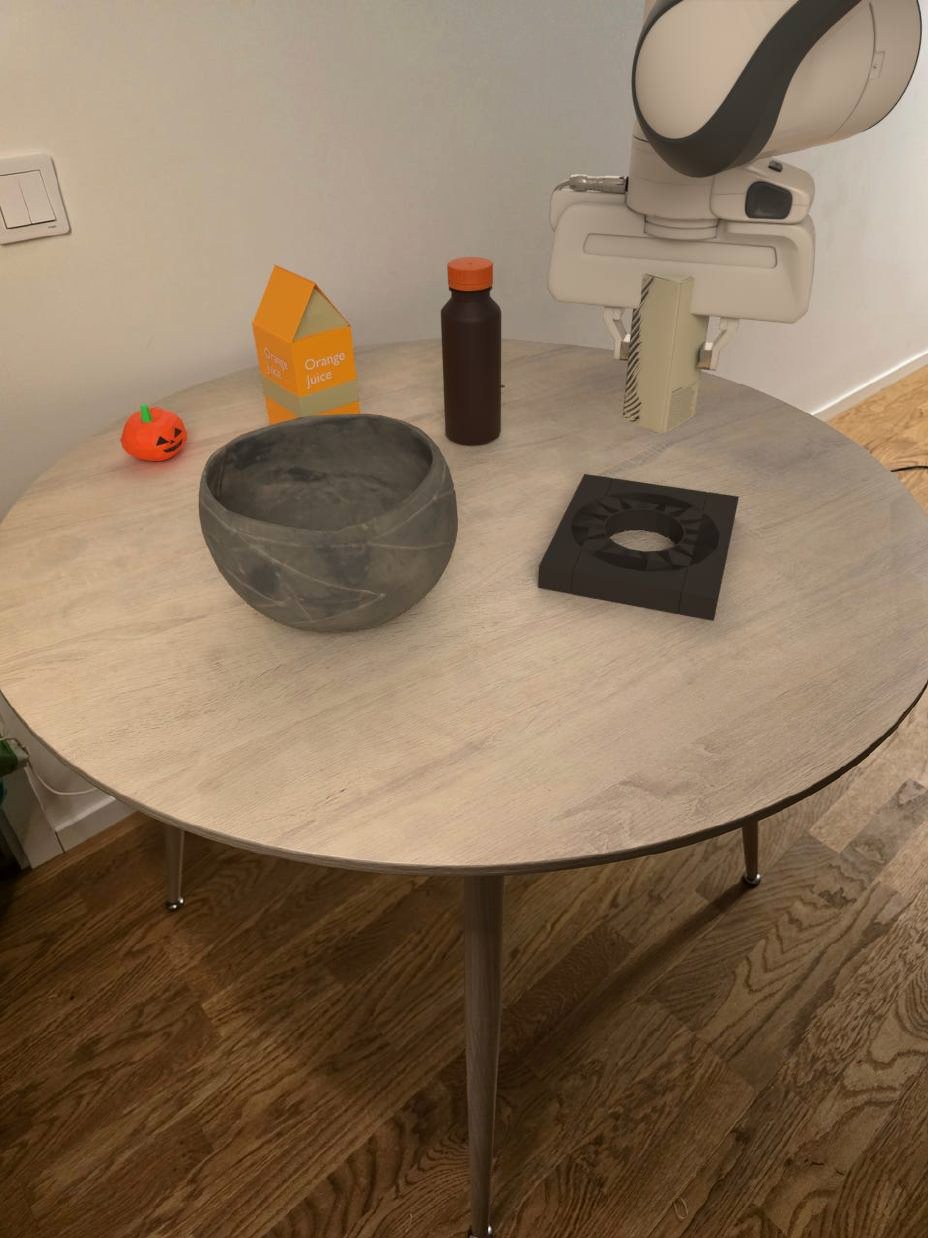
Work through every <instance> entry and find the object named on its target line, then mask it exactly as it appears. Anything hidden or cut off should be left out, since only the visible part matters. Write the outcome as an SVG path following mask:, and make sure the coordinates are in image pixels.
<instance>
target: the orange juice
mask: <svg viewBox="0 0 928 1238" xmlns="http://www.w3.org/2000/svg"><path fill="white" fill-rule="evenodd" d="M273 265H274V266H273V269H272V271H271V274H270V276H269V279H268V281H267V284H266V287H265V288H264V292H263V294H262V297H261V300H260V302H259V305H258V307H257V310H256V312H255V316H254V317H253V321H251V327H252V332H253V333H252V334H253V338H254V344H255V350H256V354H257V355H256V356H257V362H258V366H259V367H258V368H259V372H260V373H259V374H260V375H259V376H260V380H261V385H262V386H261V387H262V392H263V396H264V401H265V406H266V407H265V408H266V412H267V418H268V422H269V423H268V424H269V426H270V425H273V424H276V423H279V422H283V421H288V420H292V419H295V418H299V417H305V416H315V415H338V414H361V410H360V409H361V408H360V402H359V401H360V394H359V386H358V385H359V384H358V379H357V372H356V362H355V353H354V343H353V334H352V325H351V324H350V323H349V322H348V320H346V318H345V317H344V316H343V314H342V313H341V312H340V311H339V310H338V308H337V307H336V306H335V305H334V304H333V303H332V302H331V300H330V299H329V298H328V297H327V295H326V294H325V293H324V291H322V289H321V288H320V287H319V286H318V284H317V283H316V282H315V281H313V280H310V279H308V278H306V277H304V276H301V275H299V274H297V273H295V272H293V271H290V270H288V269H286V268H284V267H281V266H279V265H276V264H273Z"/></svg>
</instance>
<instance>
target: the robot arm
mask: <svg viewBox="0 0 928 1238" xmlns="http://www.w3.org/2000/svg"><path fill="white" fill-rule="evenodd" d="M920 6H921V5H920V3H919V0H644V6H643V15H642V24H641V31H640V34H639V37H638V40H637V43H636V47H635V50H634V55H633V59H632V66H631V78H630V79H631V80H630V81H631V98H632V105H633V109H634V113H635V116H636V118H635V120H634V123H633V127H632V136H631V145H630V156H629V168H628V175H627V176H626V175H598V176H593V175H588V174H584V173H583V174H582V173H577V174H571V175H570V176H569V179H565V180H563V181H561V182H559V183H558V184H557V185H556V186H555V187H554V189H553V191H552V193H551V195H550V197H549V198H550V199H549V217H548V218H549V224H550V227H551V229H552V231H553V232H554V235H553V239H552V243H551V244H552V245H551V250H550V255H549V261H548V268H547V277H546V278H547V279H546V288H547V291H548V293H549V294H550V296H551V297H552V299H553V300H554V301H555V302H557V303H565V304H567V303H568V304H578V305H587V306H588V305H589V306H596V307H597V306H598V307H603V317H602V319H603V322H604V323H605V326H606V328H607V330H608V333H609V334H610V337H611V339H612V340H613V341H614V347H613V360H615V361H624V362H628V355H629V344H630V333H628V332H627V330H626V327H625V326H624V323H623V321H622V317H623V315H624V313H625V312H626V309H630V310H633V309H636V308H638V306H639V304H640V302H641V286H642V275H643V274H647V273H664V274H680V275H688V276H692V277H693V278H694V286H693V293H692V300H691V314H692V315H703V316H710V317H714V318H715V317H716V318H720V319H719V324H718V325H719V326H718V330H719V331H721V332H720V333H719V334H718V335H717V337H716V338H715V339H714V341H706V342H703V344H702V347H701V350H700V356H699V358H700V360H699V363H698V369H701V370H702V371H703V370H704V371H714V372H717V368H718V365H719V360H720V354H721V352H722V350H723V349H724V348H725V347H726V345H728V343H729V342H730V341H731V339H732V338H733V337H734V336H735V335H736V334H737V332H738V328H739V325H740V320H747V321H748V320H749V321H756V322H757V321H758V322H769V323H770V322H771V323H777V324H778V323H779V324H780V323H781V324H788V325H789V324H791V325H792V324H795V323H797V322H799V321H800V319H802V318H803V317H804V316H805V315H806V314H807V313H808V311H809V306H810V303H811V302H810V301H811V295H812V290H813V289H812V288H813V282H814V275H815V261H816V239H817V235H816V227H815V223H814V220H813V218H812V216H811V215H810V214H809V213H810V210H811V209H812V206H813V202H814V199H815V194H816V184H815V179H814V178H813V176H812V174H811V173H810V172H808V171H807V170H804V169H802V168H800V167H797V166H795V165H792V164H789V163H787V162H784V161H781V160H779V159H778V158H775V157H777V156H782V155H788V154H792V153H796V152H801V151H804V150H805V151H806V150H808V149H811V148H815V147H821V146H825V145H828V144H833V143H838V142H841V141H843V140H848V139H849V138H853V136H856V135H858V134H861V133H864V132H866V131H869V130H871V129H872V128H873V127H875V126H877V125H878V124H880V123H881V122H882V121H883V120H884V119H885V118H886V117H888V115H890V114H891V112H892V111H893V110H894V109H895V108H896V106H897V105H898V104H899V102H900V101H901V100H902V98H903V96H904V95H905V93H906V91H907V89H908V87H909V85H910V83H911V81H912V79H913V76H914V74H915V71H916V68H917V65H918V62H919V57H920V54H921V53H920V52H921V45H922V40H923V39H922V37H923V20H922V19H923V18H922V12H921V7H920ZM565 187H568V188H565Z"/></svg>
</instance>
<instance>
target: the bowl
mask: <svg viewBox="0 0 928 1238" xmlns="http://www.w3.org/2000/svg"><path fill="white" fill-rule="evenodd" d="M458 515H459V514H458V503H457V493H456V489H455V484H454V481H453V477H452V474H451V471H450V468H449V465H448V462H447V461H446V459H445V455H443V453H442V451H441V449H440V447H439V446H438V444H436V442H435V441H434V440H433V439H432V438H431V436H429V434H427V433H426V432H425V431H424V430H422V429H421V428H420V427H417V426H416V425H414V424H411V423H410V422H408V421H405V420H402V419H398V418H394V417H391V416H386V415H382V414H373V413H360V414H338V415H315V416H305V417H299V418H295V419H292V420H288V421H283V422H279V423H276V424H273V425H270V424H269V425H266V426H264V427H260V428H257V429H254V430H251V431H248V432H245V433H242V434H240V435H238V436H237V437H234V438H233V439H231V440H230V441H228V442H227V443H226V444H224V445H222V446H221V447H219V448H217V449H216V450H215V451H214V452H213V453H211V455H210V456H209V458H208V459H207V461H206V462H205V465H204V468H203V470H202V473H201V476H200V480H199V489H198V517H199V518H198V519H199V524H200V528H201V533H202V536H203V539H204V542H205V545H206V547H207V550H208V551H209V553H210V555H211V557H212V559H213V562H214V563H215V565H216V568H217V569H218V571H219V573H220V574H221V576H222V577H223V579H224V580H225V581H226V583H227V584H228V585H229V586H230V588H231V589H232V590H233V591H234V592H235V593H236V594H237V595H238V596H239V597H240V598H241V599H242V600H243V601H244V602H245V603H246V604H247V605H248V606H250V607H251V608H252V609H253V610H255V611H256V612H258V613H259V614H260V615H263V616H264V617H266V618H268V619H270V620H272V621H274V622H276V623H279V624H282V625H284V626H287V627H290V628H293V629H297V630H302V631H309V632H316V633H318V632H319V633H338V632H341V633H342V632H345V633H346V632H347V633H348V632H360V631H363V630H367V629H371V628H372V629H373V628H375V627H377V626H380V625H383V624H385V623H387V622H390V621H392V620H395V619H396V618H397V617H399V616H400V615H402V614H403V613H405V612H406V611H408V610H410V609H411V608H412V607H414V606H415V605H417V604H418V603H419V602H420V601H422V600H423V599H424V598H425V597H426V596H427V595H428V594H429V593H430V592H431V591H432V590H433V589H434V588H435V587H436V585H437V584H438V583H439V581H440V580H441V578H442V577H443V575H444V573H445V571H446V569H447V567H448V565H449V563H450V561H451V558H452V555H453V552H454V549H455V545H456V542H457V536H458V532H459V531H458V530H459V517H458Z"/></svg>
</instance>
